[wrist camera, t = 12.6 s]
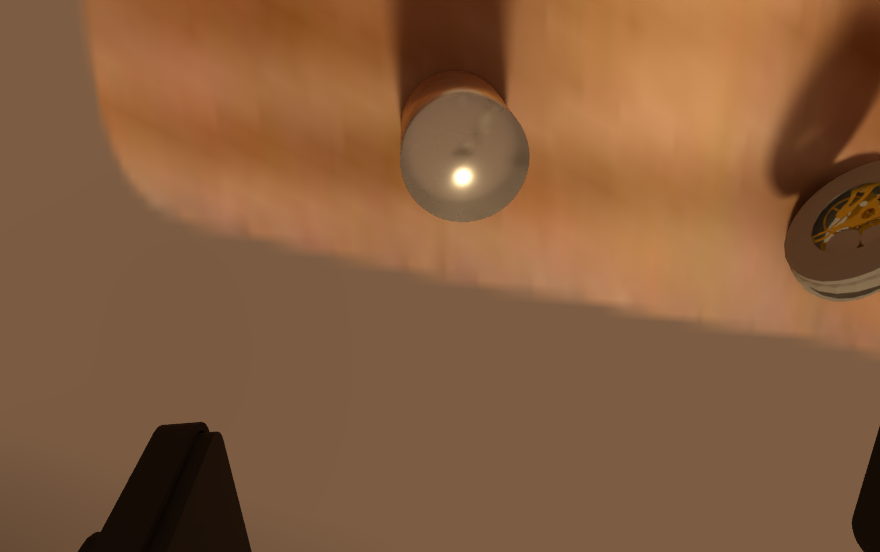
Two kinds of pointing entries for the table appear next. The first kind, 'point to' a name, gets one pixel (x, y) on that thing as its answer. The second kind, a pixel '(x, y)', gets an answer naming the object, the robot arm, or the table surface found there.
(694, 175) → the table surface
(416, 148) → the cylinder
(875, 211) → the pocket watch
